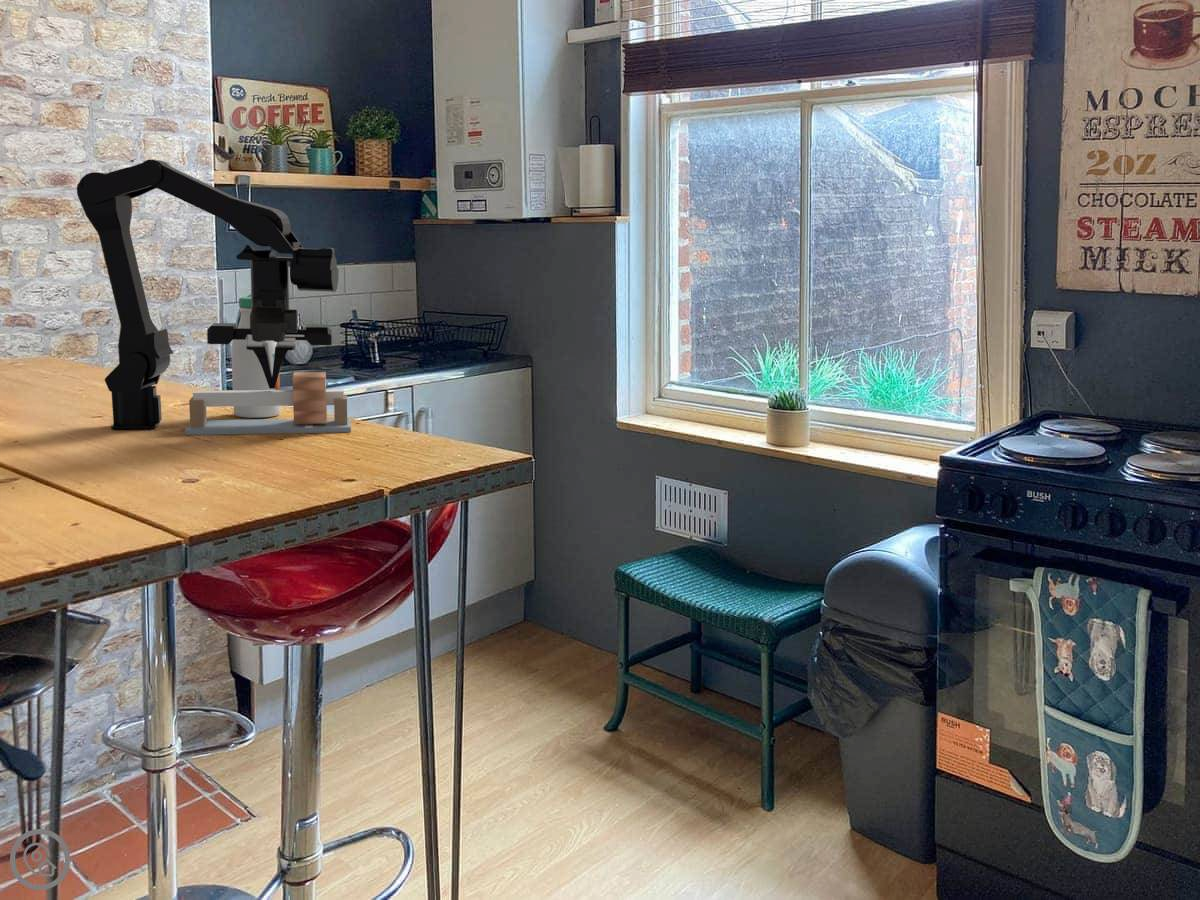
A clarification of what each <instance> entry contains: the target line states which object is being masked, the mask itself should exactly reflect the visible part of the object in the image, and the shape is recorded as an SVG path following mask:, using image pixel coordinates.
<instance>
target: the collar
mask: <svg viewBox="0 0 1200 900" xmlns="http://www.w3.org/2000/svg"><path fill="white" fill-rule="evenodd" d="M326 372H327V371H295V372H293V374H292V378H291V379H292V390H293V406H292V407H293V409H292V410H293V419H294V424H314V423H326V421H327V419H328V418H327V417H328V413H327V412H328V410H327V409H328V408H327V407H328V405H326V390H327V383H326V382H327V374H326Z"/></svg>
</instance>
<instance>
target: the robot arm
mask: <svg viewBox="0 0 1200 900" xmlns="http://www.w3.org/2000/svg"><path fill="white" fill-rule="evenodd" d="M156 189H158V190H160V191H162V192H164V193H167V194H168V195H171V196H172V197H175V198H177V199H179V200H181V201H184V202H185V203H187V204H189V205H192V206H194V207H196V208H198V209H201V210H202V211H204V212H206V213H209V214H211V215H212V216H215V217H217V218H219V219H221V220H223V221H224V222H226V223H227V224H229V226H231V228H233V229H234V230H236V232H238V233H239V234H240V235H242V236H244V237H245V238H246V239H248V240H249V241H251V242H252V243H253V244H255V245H257V246H261V247H270V248H272V249H256V247H254V246H253V244H251V243H250V244H246V245H245V246H244V248H243V250H241V251H240V252H239V253H238V254H236V257H235V258H236V260H239V261H240V260H241V261H249V262H250V265H249V266H250V289H251V290H250V294H251V295H250V297H251V307H252V311H251V314H250V328H238V326H237V323H235V322H233V323H232V322H214V323H212V324H211V325H210V326H209V327H208V328H207V329H206V330H207V332H206V333H207V334H206V335H207V336H206V337H207V339H206V343H207V344H208V345H229V344H230V343H231V342H233V340H246V342H247V346H246V349H247V350H253V351H254V353H255V354H256V356H257V358H258V360H259V362H260V364H261V366H262V369H263V372H264V374H265V377H266V380H267V383H268V386H269V388H270V389H275V386H276V383H277V379H278V376H279V374H280V372H281V369H282V365H283V363H284V360H285V358H286V356H287V354H288V351H295V350H296V347H297V345H296V344H297V343H296V341H307V343H309V345H310V346H332V343H333V331H332V330H333V329H332V327H331V326H330V325H329V324H318V323H317V324H314V323H308V324H306V327H305V328H298V309H290V288H289V287H290V285H289V284H290V283H291V284H292V285H293V286H296V287H297V290H298V291H300V292H302V291H303V292H327V293H328V292H329V293H331V292H333V293H337V289H338V287H339V275H340V274H339V271H340V270H339V267H338V262H337V258H336V255H335V253H336V251H335V248H334V247H324V248H323V247H322V248H304V246H303V244H301V242H300V241H299V240H298V238H297V237H296V236H295V234H294V232H293V231H292V228H291V227H292V225H291V221H290V219H289V216H288V214H286V213H285V212H284V211H282V210H280V209H277V208H276V207H275V208H274V207H270V206H269V205H268V206H267V205H265V204H264V205H263V204H260V203H256V202H253V201H250V200H245V199H242V198H238V197H235V196H233V195H231V194H229V193H227V192H225V191H222V190H220V189H219V188H216V187H215V186H213V185H210V184H208V183H206V182H205V181H202V180H200V179H198V178H196V177H193V176H191V175H189V174H187V173H185V172H183V171H181V170H179V169H177V168H175V167H173V166H171V165H169V163H167V162H165V161H163V160H158V159H147V160H144V161H142V162H140V163H138V164H134V165H132V166H128V167H125V168H122V169H116V170H113V171H109V172H96V171H95V172H94V171H93V172H89V173H87V174H85V175H84V176H82V177H81V179H80V180H79V182H78V183H77V185H76V195H77V198H78V200H79V203H80V205H81V206H82V209H83V211H84V215H85V217H86V218H87V219H88V221H89V223H90V224H91V225H92V227H93V228H94V230H95V232H96V233H97V235H98V238H99V241H100V245H101V250H102V255H103V258H104V262H105V267H106V271H107V274H108V278H109V279H108V280H109V282H110V288H111V291H112V296H113V299H114V303H115V307H116V311H117V316H118V320H119V324H120V327H119V328H120V329H119V335H118V344H117V351H118V352H117V353H118V362H119V363H118V365H116V367H115V368H113V370H112V371H110V373H109V374H108V375H106V377H105V378H104V383H105V384H106V387H107V389H108V391H109V392H111V403H112V404H111V405H112V406H111V407H112V419H113V420H112V422H113V423H112V424H111V425H110V428H111V429H112V430H130V429H131V430H134V429H135V430H137V429H138V430H139V429H140V430H142V429H143V430H144V429H146V430H147V429H155V428H156V427H157V426H159V424H160V423H161V422H162V419H163V417H162V416H163V414H162V401H161V395H160V394H159V395H158V394H157V393H158V392H157V385H158V383H159V380H160V377H161V375H162V374H163V373H165V372H166V371H167V369H168V368H169V366H171V365H170V364H171V356H170V355H172V354H174V351H173V350H172V348H171V346H170V343H169V332H168V329H167V328H163V329H160V330H159V329H158V328H157V326H156V325H155V324H154V322H153V321H152V318H151V314H150V311H149V307H148V302H147V299H146V298H147V297H146V294H145V290H144V286H143V282H142V277H141V273H140V268H139V264H138V260H137V257H136V251H135V247H134V244H133V240H132V236H131V228H130V227H131V221H132V216H133V215H132V214H133V201H132V199H135V198H137V197H140V196H143V195H145V194H147V193H149V192H152V191H154V190H156ZM276 252H277V253H279V254H285V255H286V254H288V255H292V256H277V254H276ZM289 263H290V264H289ZM289 279H290V281H289ZM289 282H290V283H289ZM266 341H274V342H277V344H276V347H275V356H274V365H273V374H272V371H271V364H270V357H269V350H268V343H265V342H266ZM111 429H110V430H111Z"/></svg>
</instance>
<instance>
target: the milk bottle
mask: <svg viewBox="0 0 1200 900" xmlns="http://www.w3.org/2000/svg"><path fill="white" fill-rule="evenodd" d="M238 307H239V309H238V310H239V311H240V319H239V322H238V325H237V328H250V314H251V311H252V307H251V296H243V297H242V296H241V297H239V298H238ZM231 342H232V343H231V378H232V379H231V381H232V382H231V383H232V390H281V381H280V380H281V379H280V377H281V376H280V373H279V376H278V379H277V383H276V386H275V389H270V388H269V386H268V383H267V380H266V377H265V374H264V372H263V369H262V366H261V364H260V362H259V360H258V358H257V356H256V354H255V353H254V351H253V350H247V349H246V346H247V342H246V340H232V341H231ZM265 343H268V350H269V357H270V364H271V371H272V374H273V365H274V356H275V347H276V344H277V343H278V342H274V341H266V342H265ZM232 407H233V413H234V416H236V417H240V418H247V419H248V418H249V419H252V418H253V419H255V418H256V419H257V418H258V419H260V418H261V419H262V418H263V419H264V418H271V417H275V416H276V417H277V416H279V415H280V413H281V410H282V409H281V407H282V406H232Z"/></svg>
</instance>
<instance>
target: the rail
mask: <svg viewBox="0 0 1200 900" xmlns="http://www.w3.org/2000/svg"><path fill="white" fill-rule="evenodd" d="M188 402H189V404H188V405H189V407H188V408H189V424H188V425H187V427H186V428H185V431H184V432H185V435H186V436H187V435H188V436H191V435H192V436H195V435H201V436H202V435H203V436H204V435H205V436H206V435H246V434H247V435H250V434H251V435H253V434H254V435H256V434H262V435H263V434H309V433H311V434H312V433H313V434H314V433H315V434H319V433H323V434H324V433H351V430H352V429H351V427H352V426H351V425H352V424H351V418H350V417H348V395H346V394H345V395H344V389H326V405H327V406H333V407H334V410H333V411H334V412H333V413H334V415H333V416H334V417H332V418H327V421H326V423H314V424H294V418H287V419H286V418H285V419H284V418H279V419H278V418H275V419H273V418H271V419H270V418H269V419H264V418H263V419H208V418H207V407H209V408H211V407H212V408H214V407H233V406H281V407H285V406H286V407H289V406H292V407H293V389H280V390H233V389H232V390H231V389H229V390H194V391H192V397H191V398H190V399H189V400H188ZM207 419H208V420H207Z"/></svg>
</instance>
